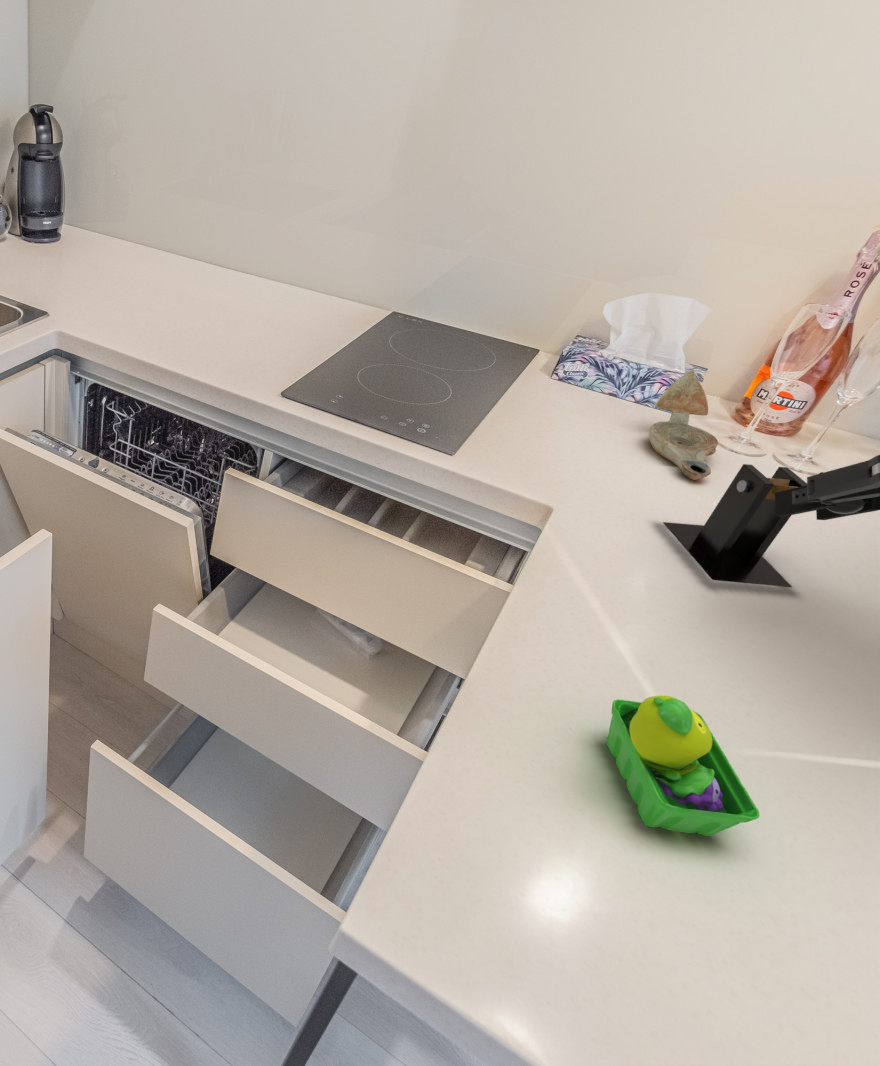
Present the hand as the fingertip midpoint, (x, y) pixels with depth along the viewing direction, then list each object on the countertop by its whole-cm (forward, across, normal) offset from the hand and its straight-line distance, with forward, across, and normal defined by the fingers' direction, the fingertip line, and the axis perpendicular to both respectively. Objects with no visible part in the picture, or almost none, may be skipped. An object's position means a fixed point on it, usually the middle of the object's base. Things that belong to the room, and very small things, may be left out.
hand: (799, 506), depth 85 cm
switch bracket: (+12, 0, -5) cm, 13 cm away
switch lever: (0, 0, 0) cm, 0 cm away
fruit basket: (-14, -26, -31) cm, 43 cm away
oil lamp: (+31, +8, +14) cm, 35 cm away
